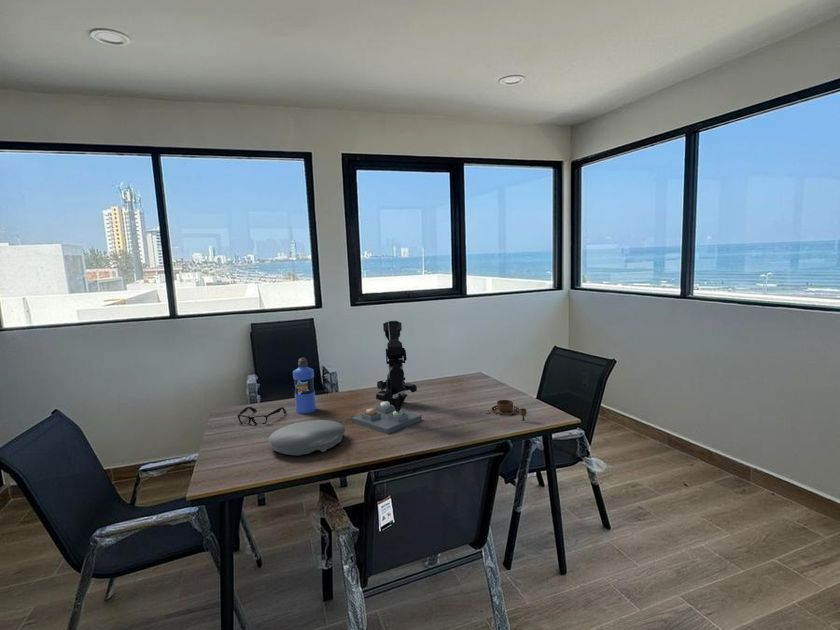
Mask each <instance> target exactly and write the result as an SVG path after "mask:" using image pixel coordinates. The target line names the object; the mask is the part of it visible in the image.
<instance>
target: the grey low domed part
mask: <svg viewBox="0 0 840 630" xmlns="http://www.w3.org/2000/svg"><path fill="white" fill-rule="evenodd" d="M345 432H346V428H345V425H343V424H342V423H340V422H337V421H334V420H327V419H326V420H325V419H323V420H322V419H316V420H315V419H313V420H305V421H301V422H296V423H291V424H288V425H285V426H283V427H281V428H278V429H277V430H275V431H273V432H272V433H271V434H270V435H269V437H268V443H269V444H270V445H271V447H272V450H273V451H275V452H278V453H280V454H283V455H288V456H302V455H309V454H311V453H312V452H315V451H320V452H322V453H323V452H326V451H327V449H328V450H329V449H331V448H333V447H334V446H336V445H337V444H339V443H341V441H342V439H343V437H344V436H343V435H344V433H345Z"/></svg>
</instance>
